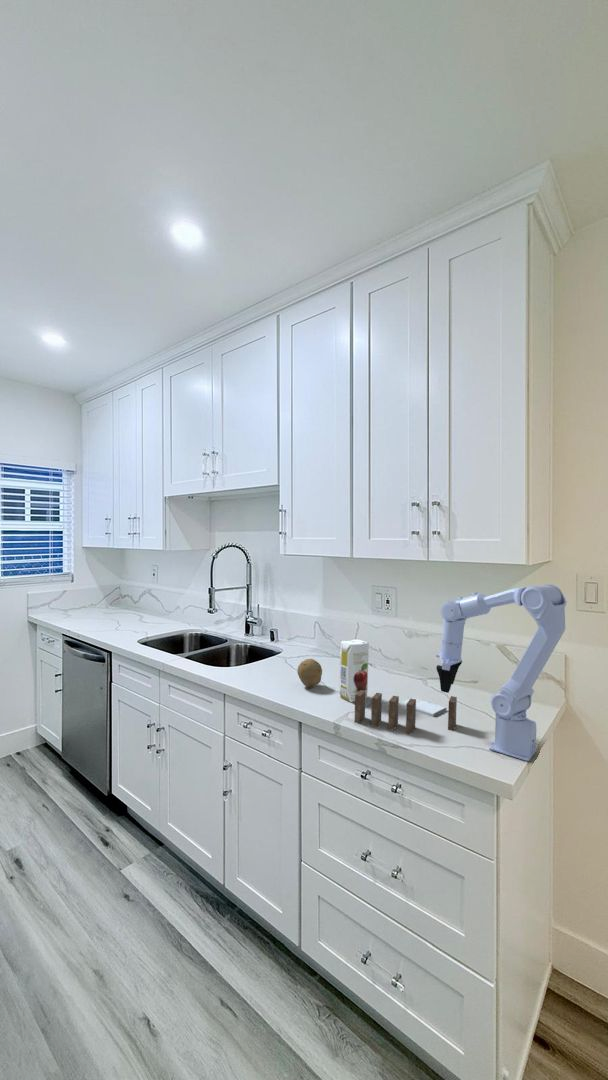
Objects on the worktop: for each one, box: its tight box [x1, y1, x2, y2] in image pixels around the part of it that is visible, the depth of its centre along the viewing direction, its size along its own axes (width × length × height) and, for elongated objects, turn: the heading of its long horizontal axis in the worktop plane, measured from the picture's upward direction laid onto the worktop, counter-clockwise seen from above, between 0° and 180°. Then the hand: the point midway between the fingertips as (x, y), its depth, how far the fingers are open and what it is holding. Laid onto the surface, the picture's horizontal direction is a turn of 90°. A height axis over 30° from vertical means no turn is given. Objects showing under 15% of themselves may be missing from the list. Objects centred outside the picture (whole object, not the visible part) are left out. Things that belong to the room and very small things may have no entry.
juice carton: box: [339, 639, 370, 703], centre depth 156 cm, size 8×9×19 cm
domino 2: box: [370, 692, 383, 727], centre depth 136 cm, size 2×5×8 cm, turn 155°
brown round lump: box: [296, 658, 323, 689], centre depth 167 cm, size 9×9×10 cm
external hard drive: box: [398, 697, 447, 718], centre depth 149 cm, size 2×8×12 cm
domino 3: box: [387, 695, 400, 731], centre depth 134 cm, size 2×5×8 cm, turn 155°
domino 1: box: [353, 690, 366, 724], centre depth 138 cm, size 2×5×8 cm, turn 155°
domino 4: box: [405, 697, 417, 734], centre depth 132 cm, size 2×5×8 cm, turn 155°
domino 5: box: [447, 695, 458, 731], centre depth 135 cm, size 2×5×8 cm, turn 155°
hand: (447, 687), depth 136 cm, fingers open, 7 cm apart
